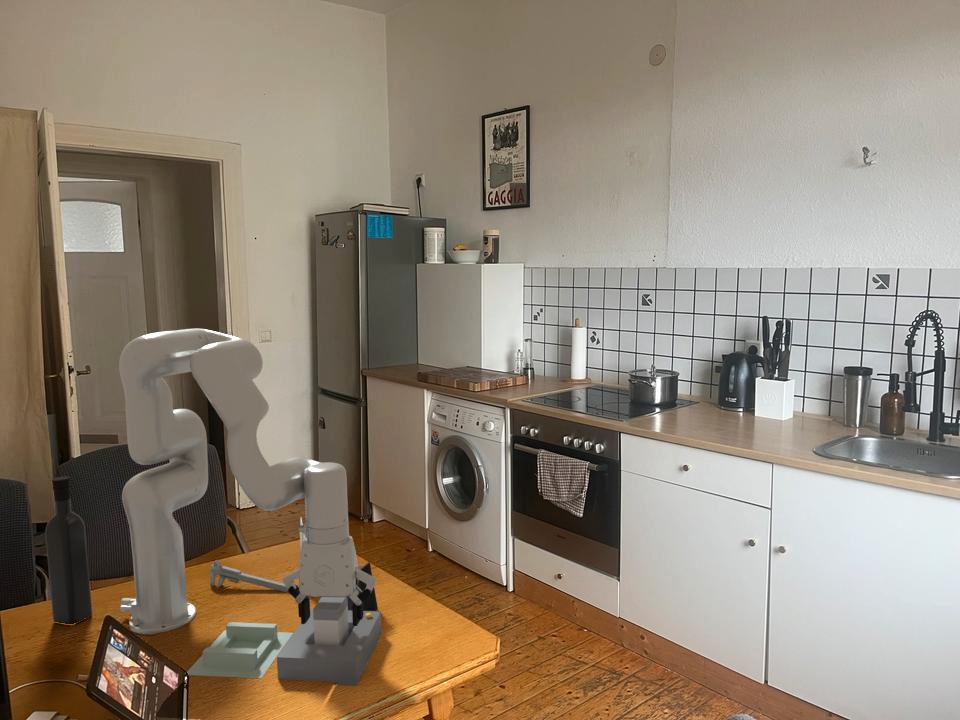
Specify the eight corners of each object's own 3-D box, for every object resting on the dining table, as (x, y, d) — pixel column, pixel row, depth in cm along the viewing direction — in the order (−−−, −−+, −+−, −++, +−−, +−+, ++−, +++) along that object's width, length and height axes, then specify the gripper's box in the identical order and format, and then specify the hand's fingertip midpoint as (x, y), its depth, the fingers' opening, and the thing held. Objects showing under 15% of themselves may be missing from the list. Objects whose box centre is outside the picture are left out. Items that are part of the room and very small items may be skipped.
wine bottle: (50, 624, 150) (37, 481, 147) (73, 611, 156) (61, 473, 152) (72, 627, 149) (59, 483, 145) (95, 615, 154) (83, 475, 150)
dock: (278, 682, 128) (276, 653, 128) (311, 631, 146) (310, 606, 145) (356, 685, 127) (355, 657, 126) (381, 633, 145) (380, 608, 144)
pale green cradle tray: (184, 677, 130) (183, 658, 130) (225, 632, 146) (223, 615, 145) (261, 681, 129) (260, 661, 128) (293, 635, 144) (292, 618, 144)
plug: (315, 661, 134) (313, 609, 132) (325, 644, 140) (323, 594, 138) (339, 662, 133) (337, 610, 132) (349, 645, 139) (347, 595, 138)
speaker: (386, 609, 154) (379, 562, 153) (365, 621, 150) (358, 572, 149) (362, 603, 159) (355, 556, 158) (341, 614, 155) (334, 566, 154)
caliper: (210, 587, 167) (208, 561, 167) (212, 585, 168) (210, 559, 168) (294, 593, 164) (293, 566, 163) (296, 591, 165) (295, 564, 164)
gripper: (273, 538, 131) (278, 630, 133) (369, 540, 129) (372, 633, 131) (288, 523, 138) (292, 610, 140) (379, 525, 136) (382, 613, 138)
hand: (331, 621), depth 136 cm, fingers open, 9 cm apart
